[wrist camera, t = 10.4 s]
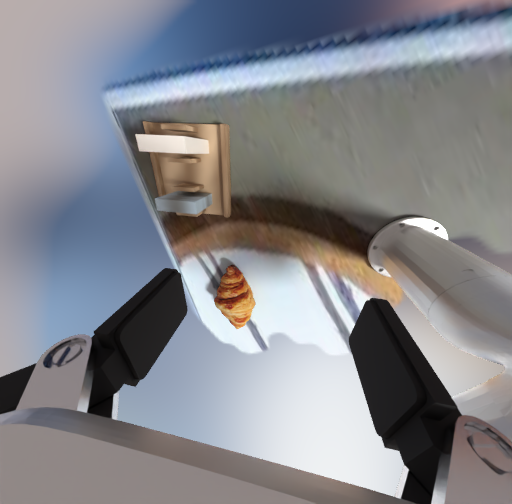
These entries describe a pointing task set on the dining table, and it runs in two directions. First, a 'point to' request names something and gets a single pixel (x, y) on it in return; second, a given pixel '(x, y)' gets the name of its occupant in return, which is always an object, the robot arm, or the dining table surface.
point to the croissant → (235, 297)
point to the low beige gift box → (172, 144)
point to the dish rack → (193, 171)
